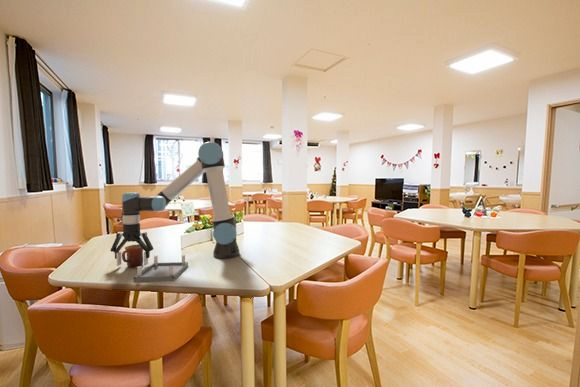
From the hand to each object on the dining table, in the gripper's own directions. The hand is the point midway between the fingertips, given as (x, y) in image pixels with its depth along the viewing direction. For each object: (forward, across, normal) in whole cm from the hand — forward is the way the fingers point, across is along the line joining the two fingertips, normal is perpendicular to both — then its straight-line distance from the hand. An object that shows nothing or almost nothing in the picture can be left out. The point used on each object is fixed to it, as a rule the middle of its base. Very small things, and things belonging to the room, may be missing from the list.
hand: (132, 264), depth 133 cm
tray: (+1, -19, +10) cm, 22 cm away
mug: (+1, 0, 0) cm, 1 cm away
